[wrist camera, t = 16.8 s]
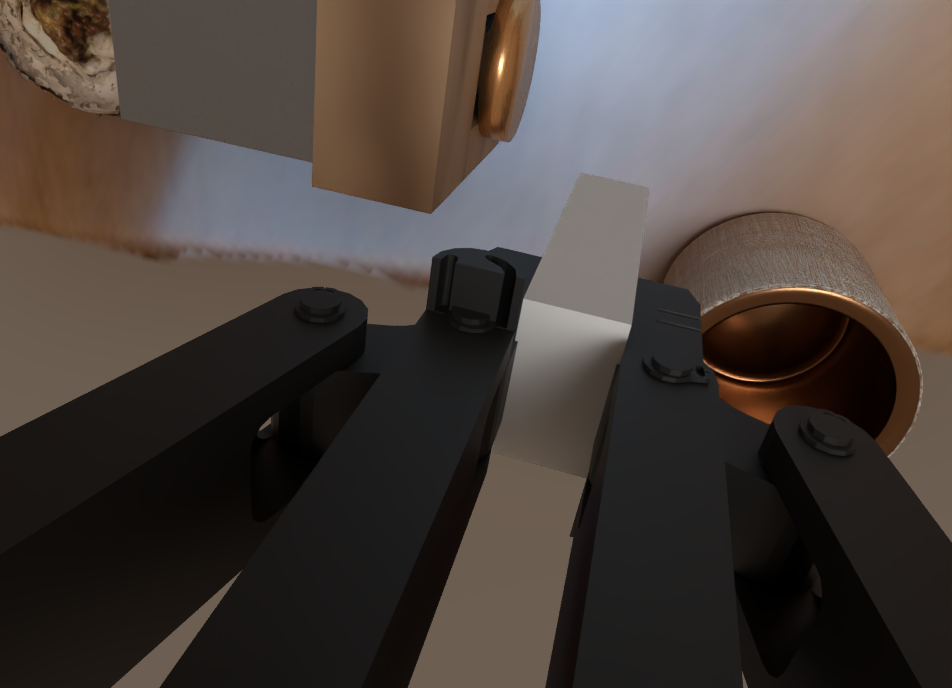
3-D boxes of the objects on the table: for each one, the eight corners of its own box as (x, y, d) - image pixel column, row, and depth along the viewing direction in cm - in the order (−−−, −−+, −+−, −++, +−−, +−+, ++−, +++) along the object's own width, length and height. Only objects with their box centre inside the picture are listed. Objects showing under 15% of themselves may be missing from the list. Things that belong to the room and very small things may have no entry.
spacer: (409, 124, 39) (312, 186, 29) (427, -65, 34) (319, -72, 24) (498, 143, 38) (431, 213, 28) (528, -48, 33) (461, -47, 23)
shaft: (271, 73, 39) (205, 93, 34) (271, -60, 36) (197, -62, 30) (523, 126, 37) (496, 156, 32) (547, -10, 34) (521, -3, 28)
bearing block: (227, 87, 40) (121, 119, 33) (221, -99, 36) (95, -113, 28) (394, 122, 39) (324, 165, 31) (410, -66, 34) (333, -71, 27)
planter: (895, 359, 38) (953, 469, 30) (695, 411, 43) (698, 519, 35) (841, 174, 35) (890, 243, 27) (628, 251, 39) (614, 330, 31)
